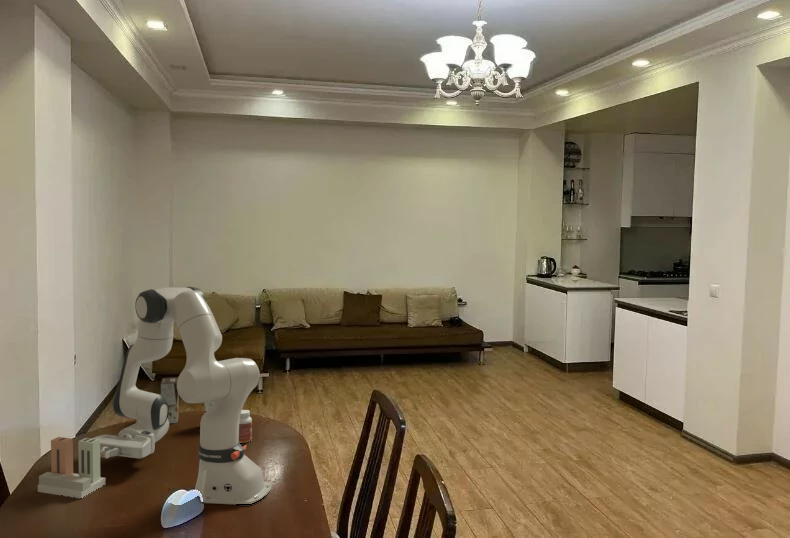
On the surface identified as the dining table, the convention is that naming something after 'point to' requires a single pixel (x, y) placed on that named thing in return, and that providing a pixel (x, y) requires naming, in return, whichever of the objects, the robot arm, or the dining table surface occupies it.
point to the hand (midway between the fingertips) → (102, 455)
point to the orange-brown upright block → (62, 456)
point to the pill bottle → (245, 426)
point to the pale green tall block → (89, 458)
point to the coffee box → (171, 397)
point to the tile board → (72, 492)
